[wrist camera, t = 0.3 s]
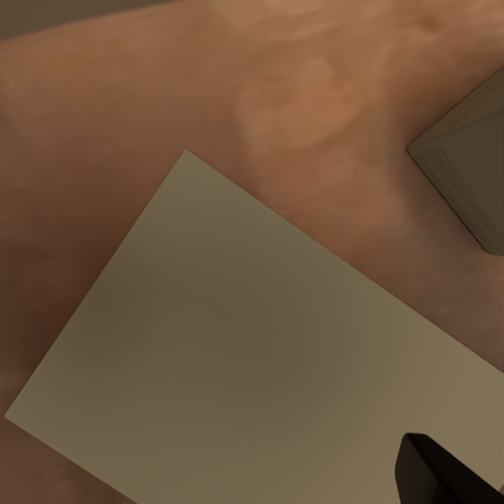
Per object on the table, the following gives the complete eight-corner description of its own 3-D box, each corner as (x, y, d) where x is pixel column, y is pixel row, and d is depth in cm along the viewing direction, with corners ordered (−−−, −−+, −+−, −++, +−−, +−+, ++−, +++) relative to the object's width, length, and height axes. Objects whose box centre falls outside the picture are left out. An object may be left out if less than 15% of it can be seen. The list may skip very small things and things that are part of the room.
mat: (367, 645, 25) (369, 654, 25) (8, 412, 24) (3, 416, 24) (553, 408, 24) (559, 412, 24) (186, 150, 23) (185, 148, 22)
